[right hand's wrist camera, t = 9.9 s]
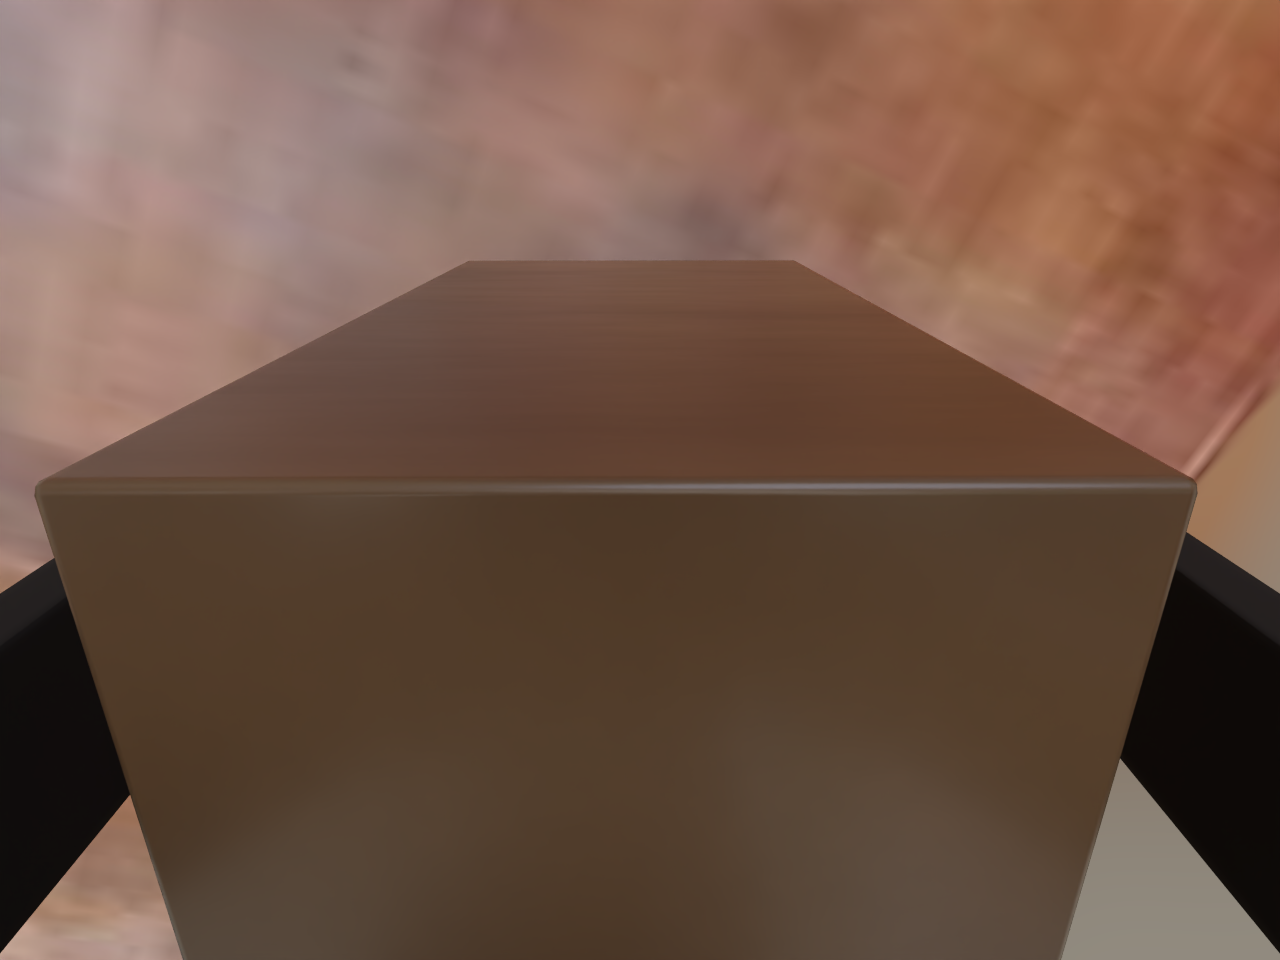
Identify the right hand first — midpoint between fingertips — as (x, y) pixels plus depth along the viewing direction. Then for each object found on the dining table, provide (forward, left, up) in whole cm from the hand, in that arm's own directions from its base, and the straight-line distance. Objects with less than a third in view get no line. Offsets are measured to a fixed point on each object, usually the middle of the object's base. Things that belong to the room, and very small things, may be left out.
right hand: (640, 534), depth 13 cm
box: (+7, +2, -3) cm, 8 cm away
